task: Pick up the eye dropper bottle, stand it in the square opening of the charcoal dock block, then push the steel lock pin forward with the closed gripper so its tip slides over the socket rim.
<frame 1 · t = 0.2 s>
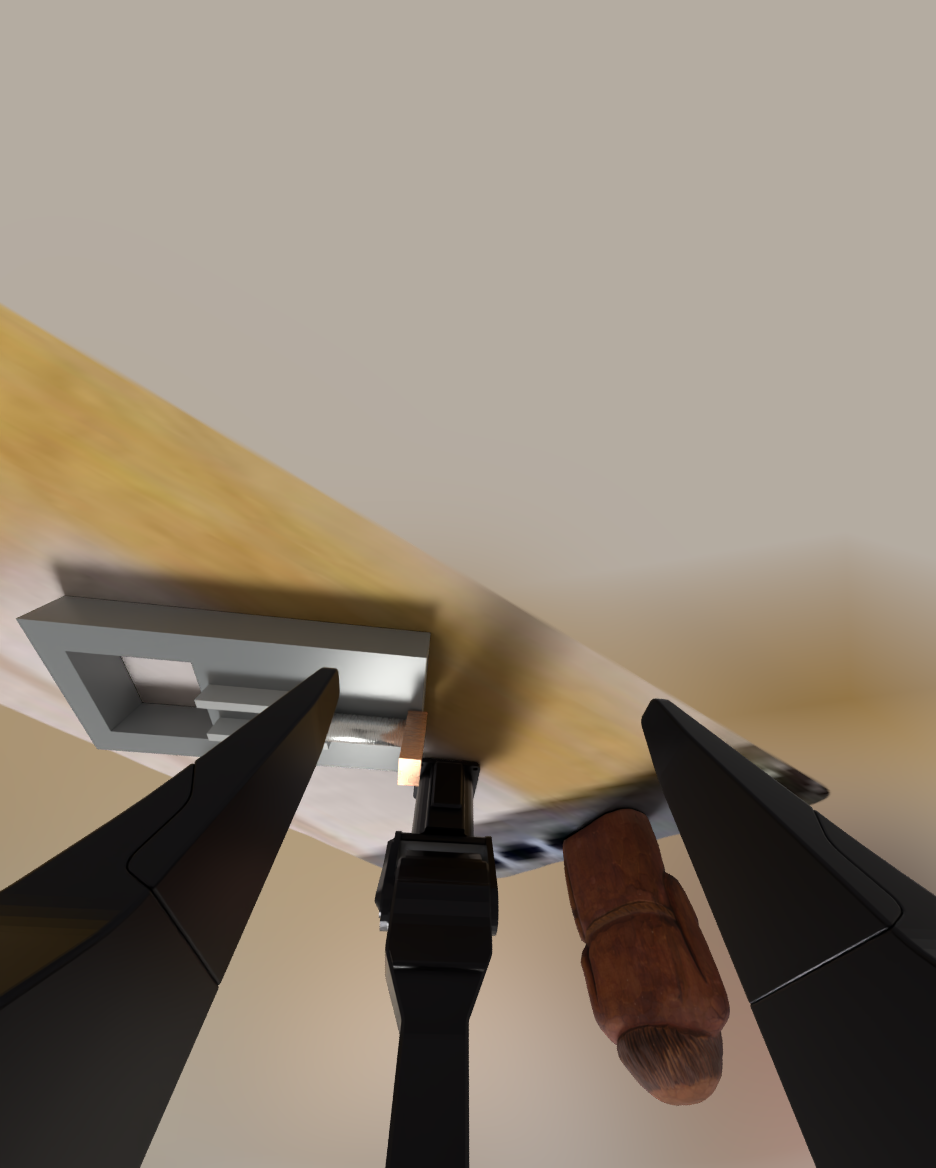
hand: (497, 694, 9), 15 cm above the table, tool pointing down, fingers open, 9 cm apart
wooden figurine: (603, 827, 40), on the table
dock block: (178, 671, 28), on the table
lock pin: (342, 740, 25), point 5 cm above the table, slide at 0.0 cm
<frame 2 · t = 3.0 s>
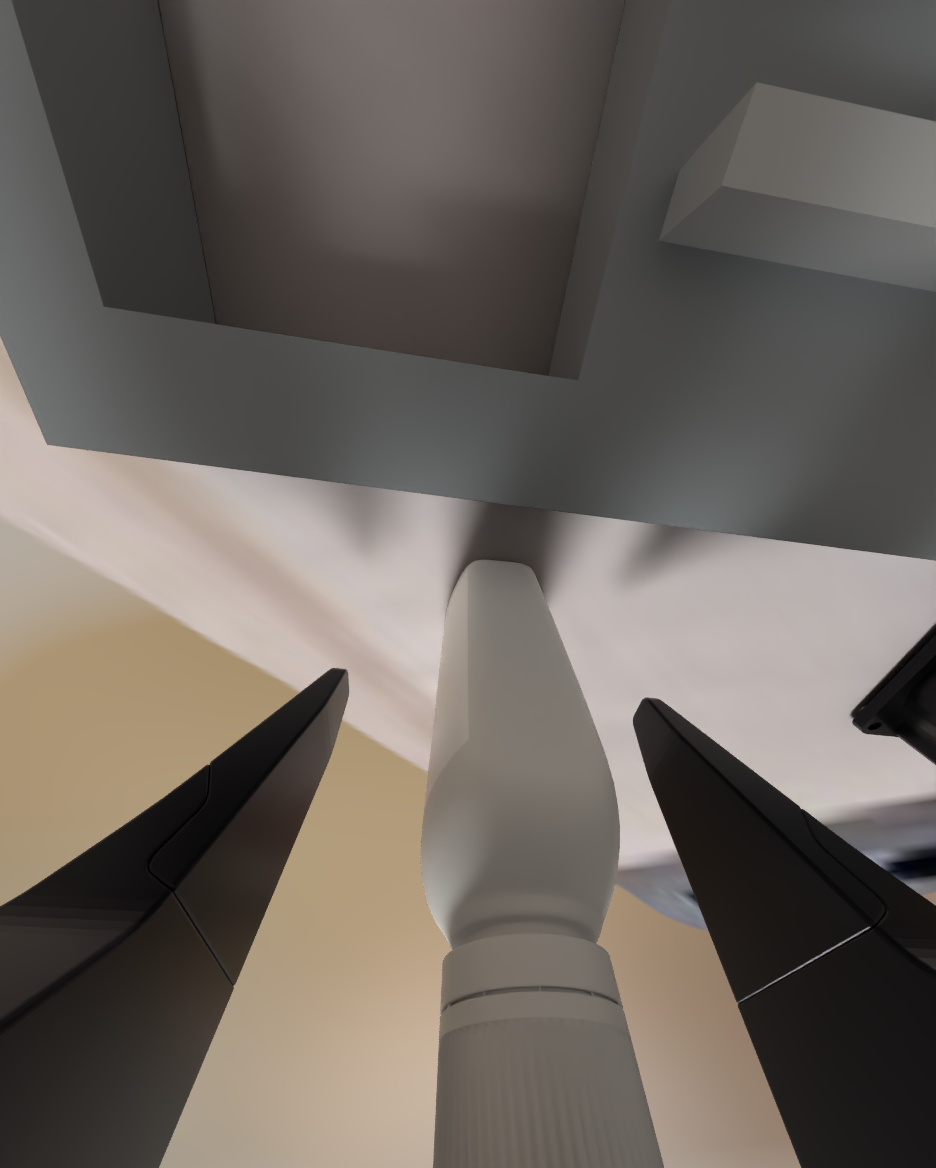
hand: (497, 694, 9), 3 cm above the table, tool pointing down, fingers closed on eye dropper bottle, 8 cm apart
dock block: (390, 116, 7), on the table
eye dropper bottle: (489, 620, 13), on the table, touching gripper
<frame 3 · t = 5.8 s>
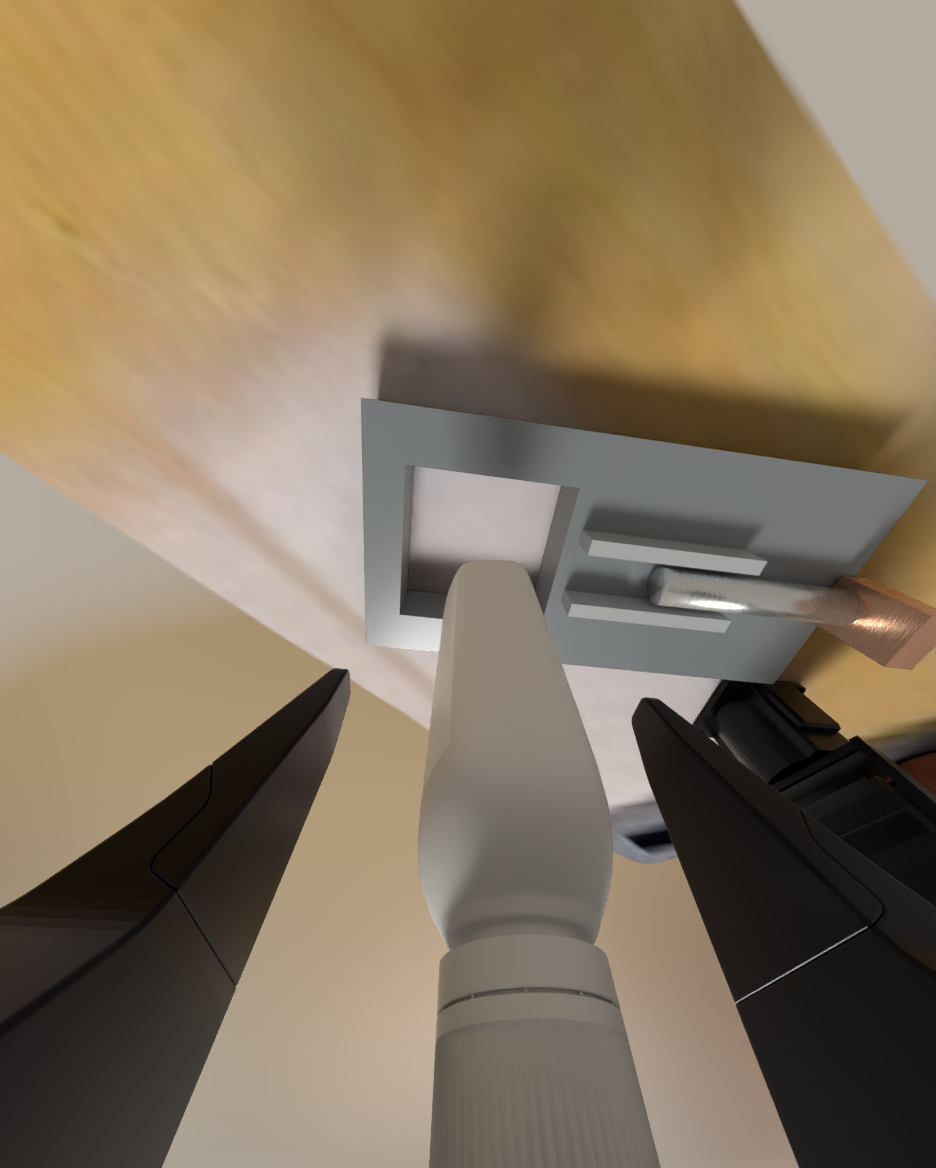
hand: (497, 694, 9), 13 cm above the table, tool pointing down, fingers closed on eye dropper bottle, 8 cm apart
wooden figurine: (887, 778, 33), on the table
dock block: (479, 538, 21), on the table
lock pin: (780, 608, 17), point 5 cm above the table, slide at 0.0 cm
eye dropper bottle: (488, 620, 13), point 9 cm above the table, touching gripper
when the fingers open (4 cm above the table, at t = 8.5 s): eye dropper bottle stays where it is, resting in dock block.
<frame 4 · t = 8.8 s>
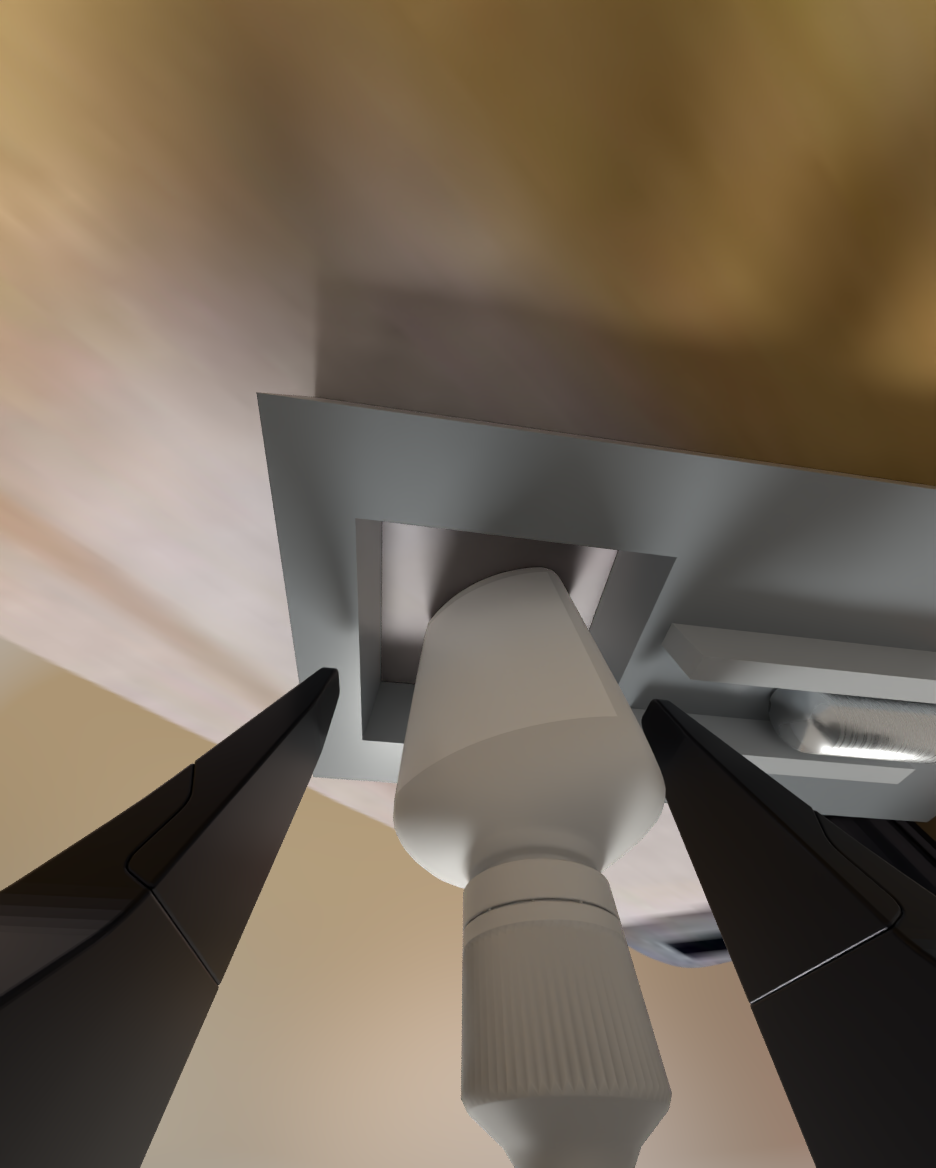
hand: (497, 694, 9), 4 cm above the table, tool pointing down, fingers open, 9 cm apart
dock block: (488, 612, 13), on the table
eye dropper bottle: (495, 610, 13), resting in dock block
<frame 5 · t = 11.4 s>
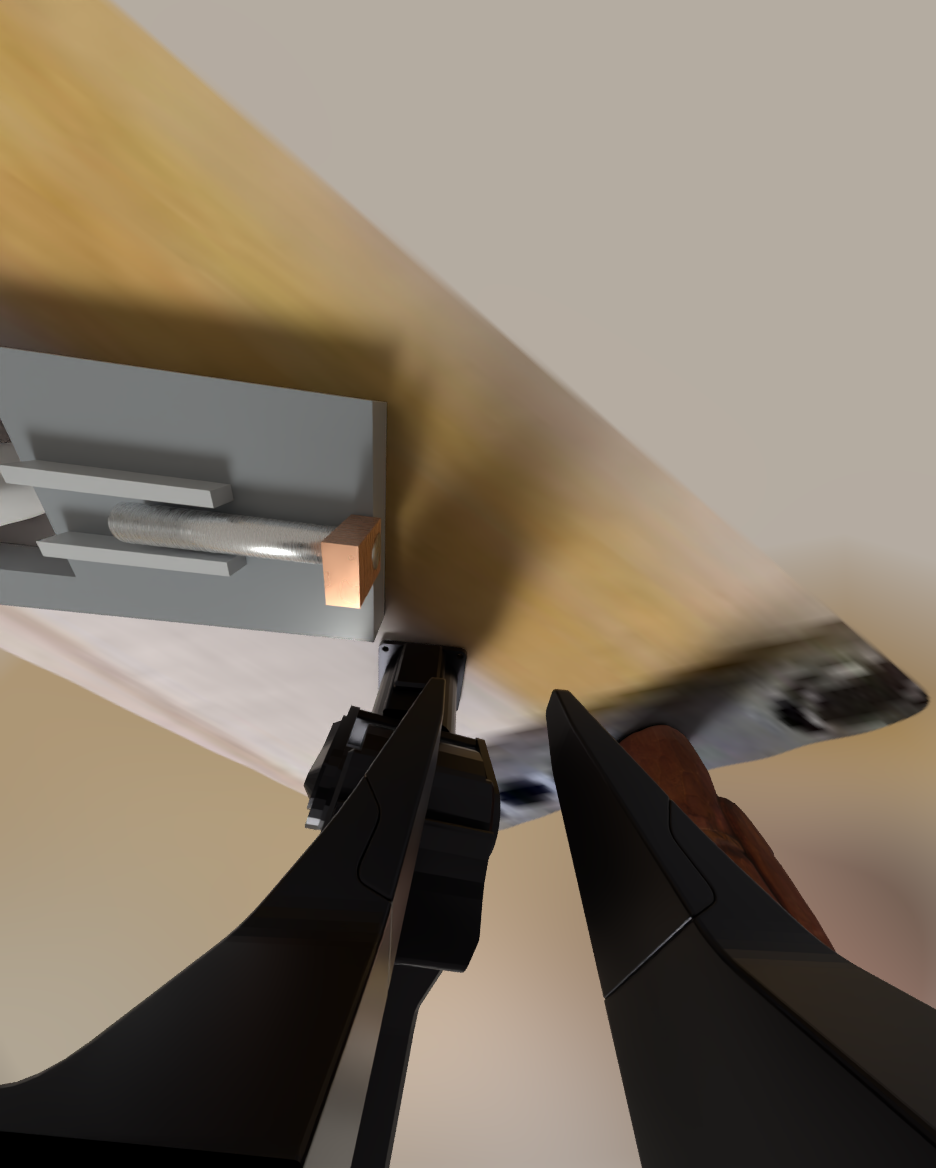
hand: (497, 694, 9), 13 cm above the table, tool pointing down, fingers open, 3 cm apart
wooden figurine: (627, 756, 31), on the table
dock block: (21, 480, 19), on the table
lock pin: (243, 544, 16), point 5 cm above the table, slide at 0.0 cm
eye dropper bottle: (31, 481, 19), resting in dock block
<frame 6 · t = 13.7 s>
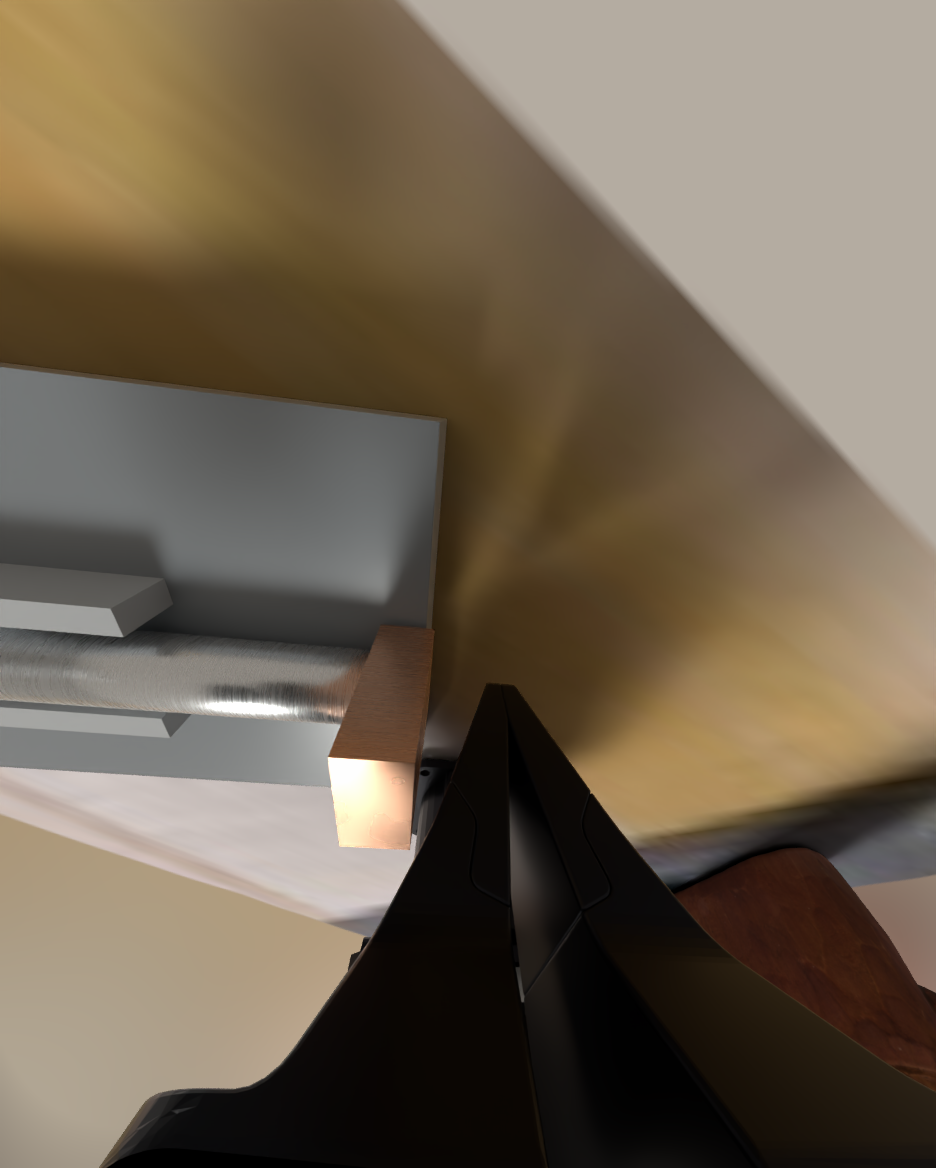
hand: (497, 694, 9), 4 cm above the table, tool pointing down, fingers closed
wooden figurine: (737, 875, 24), on the table
lock pin: (174, 704, 8), point 5 cm above the table, slide at 0.2 cm, touching gripper
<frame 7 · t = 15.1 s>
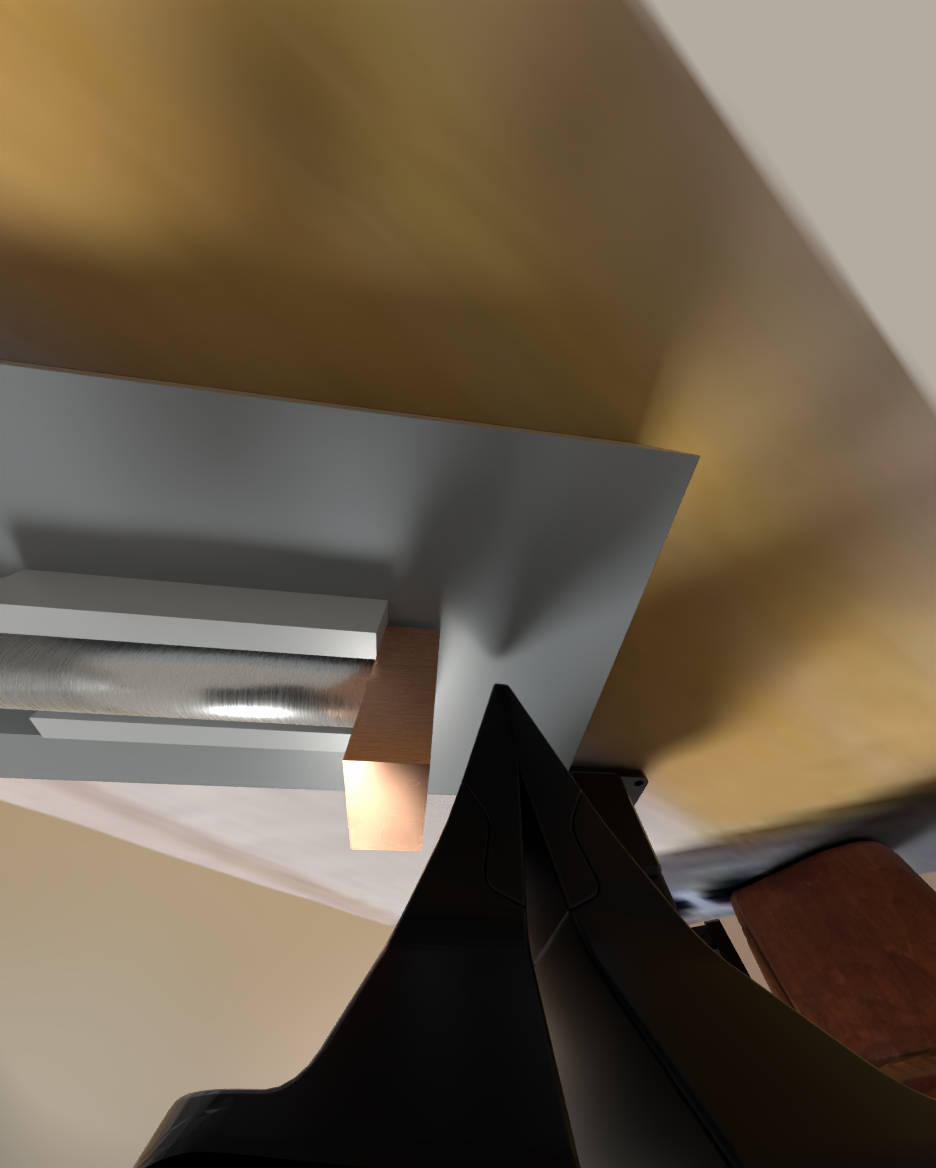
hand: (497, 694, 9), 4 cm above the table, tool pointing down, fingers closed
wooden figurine: (802, 868, 25), on the table
lock pin: (177, 710, 8), point 5 cm above the table, slide at 6.0 cm, touching dock block, gripper
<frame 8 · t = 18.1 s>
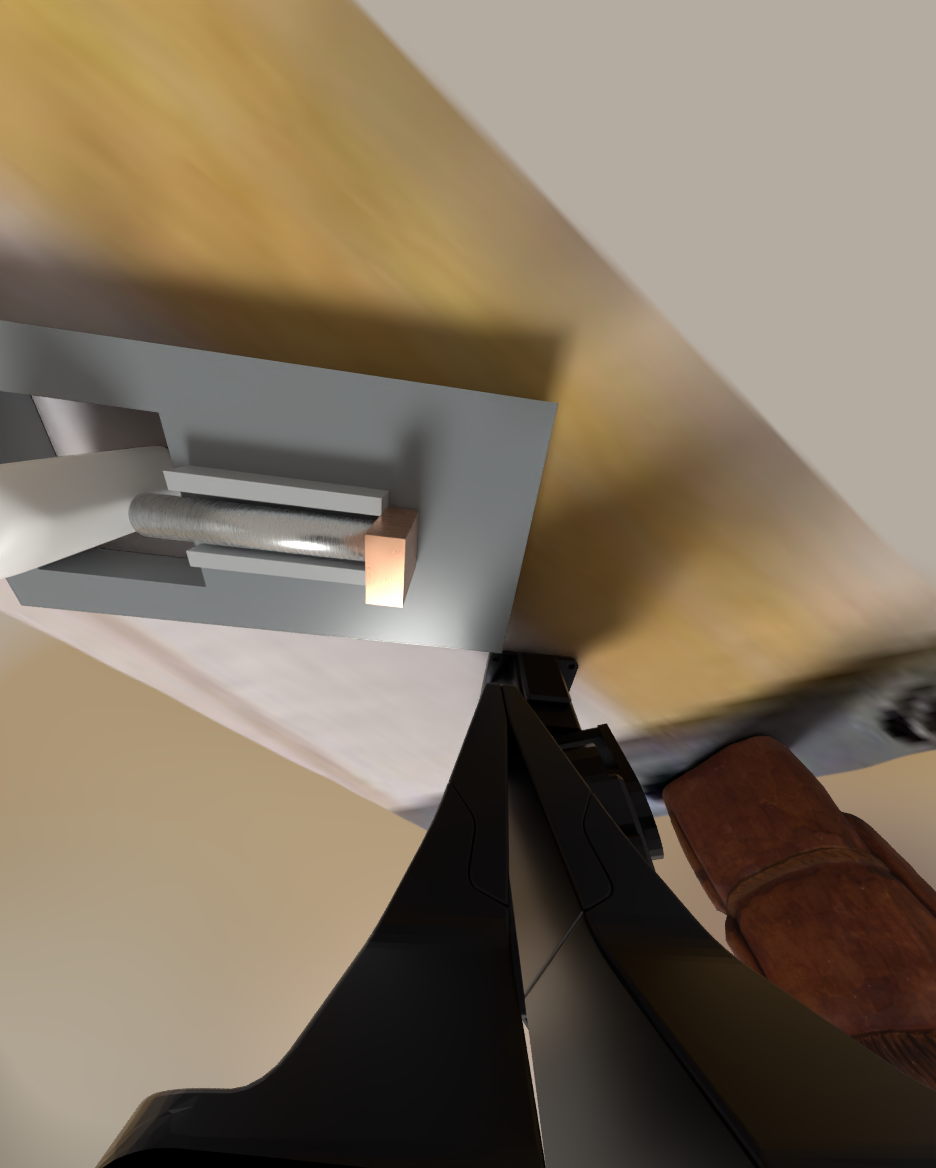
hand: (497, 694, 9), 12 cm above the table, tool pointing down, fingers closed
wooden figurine: (718, 766, 31), on the table
dock block: (146, 486, 18), on the table
lock pin: (273, 538, 14), point 5 cm above the table, slide at 6.0 cm, touching dock block
eye dropper bottle: (155, 486, 19), resting in dock block
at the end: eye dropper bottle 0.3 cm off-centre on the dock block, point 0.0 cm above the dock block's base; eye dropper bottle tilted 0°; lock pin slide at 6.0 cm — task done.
